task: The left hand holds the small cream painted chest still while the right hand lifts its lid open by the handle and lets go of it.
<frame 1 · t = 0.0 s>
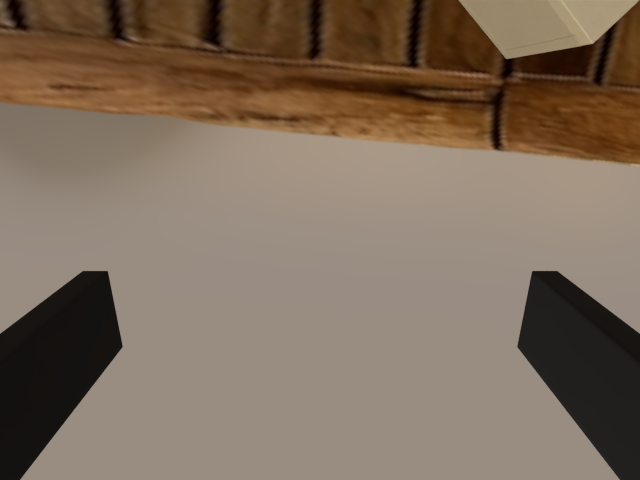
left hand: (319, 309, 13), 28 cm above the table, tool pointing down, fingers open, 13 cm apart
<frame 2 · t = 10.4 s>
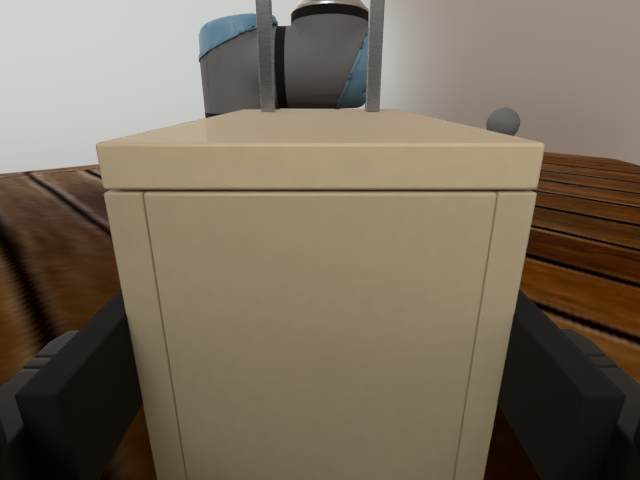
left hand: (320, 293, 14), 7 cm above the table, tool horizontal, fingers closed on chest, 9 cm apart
light bulb: (497, 160, 82), on the table
lid: (320, 25, 15), point 16 cm above the table, hinge at 0.0°
chest: (320, 367, 21), on the table, touching left hand
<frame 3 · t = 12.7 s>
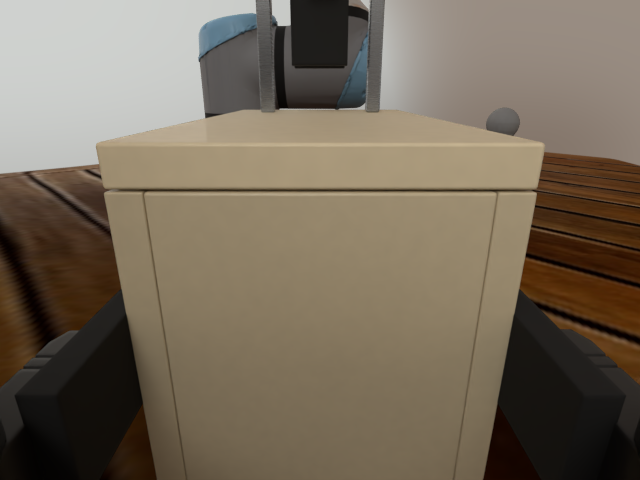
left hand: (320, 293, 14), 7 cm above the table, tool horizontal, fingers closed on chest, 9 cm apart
light bulb: (497, 160, 82), on the table
lid: (320, 25, 16), point 16 cm above the table, hinge at -0.1°, touching right hand
chest: (320, 367, 21), on the table, touching left hand
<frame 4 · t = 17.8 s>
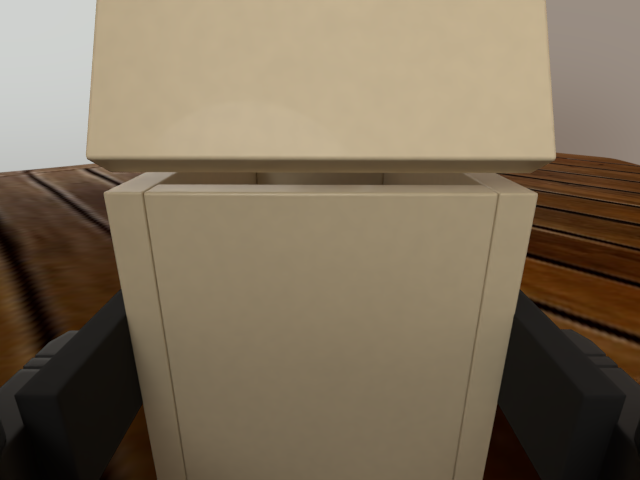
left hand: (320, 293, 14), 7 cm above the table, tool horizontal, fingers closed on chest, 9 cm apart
chest: (319, 366, 21), on the table, touching left hand
when the left hand's fingers open (7 cm above the table, at t = 20.6 s): chest stays where it is, on the table.
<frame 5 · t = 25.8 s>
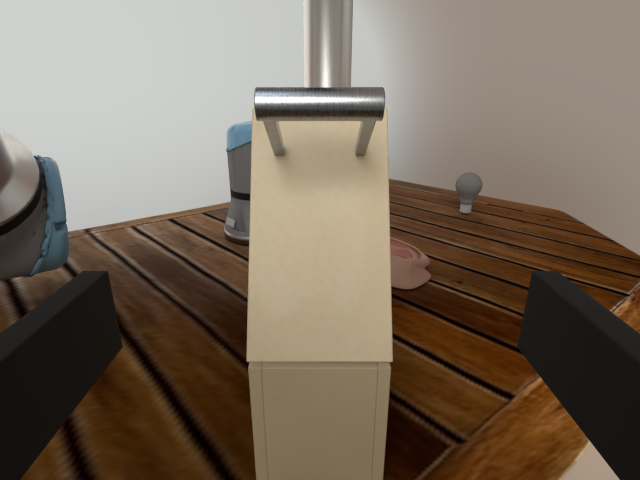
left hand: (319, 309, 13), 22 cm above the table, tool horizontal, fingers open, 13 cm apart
light bulb: (465, 214, 100), on the table
lid: (319, 220, 24), point 21 cm above the table, hinge at 62.4°
chest: (319, 408, 39), on the table
anatomical model: (396, 271, 68), on the table
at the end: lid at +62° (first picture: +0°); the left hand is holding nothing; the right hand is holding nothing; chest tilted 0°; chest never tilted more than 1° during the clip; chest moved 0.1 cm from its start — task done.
